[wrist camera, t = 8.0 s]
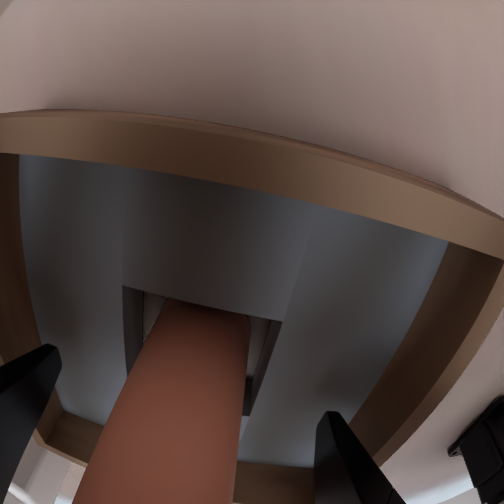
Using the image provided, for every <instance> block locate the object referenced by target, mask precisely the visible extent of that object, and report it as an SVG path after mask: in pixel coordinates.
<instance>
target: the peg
mask: <svg viewBox="0 0 504 504" xmlns="http://www.w3.org/2000/svg"><path fill="white" fill-rule="evenodd" d="M249 341H250V323H249V320H248V317H247V315H246V314H241V313H236V312H232V311H227V310H222V309H218V308H213V307H209V306H204V305H200V304H195V303H191V302H187V301H182V300H178V299H174V298H169V299H168V300H167V302H166V303H165V304H164V306H163V308H162V310H161V312H160V314H159V316H158V318H157V320H156V321H155V323H154V325H153V327H152V329H151V331H150V333H149V335H148V337H147V339H146V341H145V343H144V345H143V347H142V349H141V351H140V353H139V355H138V357H137V359H136V361H135V363H134V365H133V367H132V369H131V371H130V373H129V375H128V377H127V379H126V381H125V383H124V386H123V388H122V390H121V392H120V394H119V396H118V398H117V400H116V402H115V405H114V407H113V409H112V411H111V413H110V415H109V418H108V420H107V422H106V424H105V426H104V429H103V431H102V433H101V435H100V437H99V440H98V442H97V444H96V447H95V449H94V451H93V453H92V456H91V458H90V460H89V463H88V465H87V468H86V470H85V472H84V475H83V477H82V480H81V482H80V484H79V487H78V489H77V492H76V494H75V497H74V499H73V502H72V504H232V501H233V492H234V483H235V474H236V465H237V455H238V446H239V437H240V427H241V418H242V409H243V399H244V389H245V380H246V370H247V360H248V351H249Z"/></svg>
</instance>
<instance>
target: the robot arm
mask: <svg viewBox="0 0 504 504" xmlns="http://www.w3.org/2000/svg"><path fill="white" fill-rule="evenodd" d="M61 369H62V360H61V356H60V352H59V349H58V347H57V346H55V345H52V344H50V343H46V344H44V345H42V346H40V347H38V348H36V349H34V350H32V351H30V352H28V353H26V354H24V355H22V356H20V357H18V358H16V359H14V360H12V361H10V362H8V363H6V364H4V365H2V366H0V504H3V503H4V500H5V497H6V495H7V492H8V489H9V487H10V484H11V482H12V479H13V477H14V474H15V472H16V470H17V467H18V465H19V463H20V460H21V458H22V456H23V454H24V451H25V449H26V447H27V445H28V443H29V441H30V438H31V436H32V434H33V432H34V430H35V428H36V426H37V424H38V422H39V420H40V418H41V416H42V414H43V412H44V410H45V408H46V406H47V404H48V402H49V399H50V397H51V394H52V392H53V389H54V387H55V384H56V382H57V379H58V377H59V374H60V372H61ZM447 453H448V456H449V457H453V456H458V455H462V456H463V458H464V461H465V464H466V466H467V469H468V472H469V475H470V478H471V481H472V484H473V486H474V488H477V491H478V494H479V497H480V500H481V504H485V503H487V504H504V397H501V398H499V399H497V400H496V401H495V402H494V403H493V404H492V405H491V406H490V408H489V409H488V410H487V411H486V412H485V413H484V414H483V416H482V417H481V418H480V419H479V420H478V421H477V422H476V423H475V424H474V425H473V427H472V428H471V429H470V430H469V431H468V432H467V433H466V434H465V435H464V436H463V437H462V438H461V439H460V440H459V441H458V442H457V443H456V444H455V445H454V446H453V447H452V448H451V449H450V450H449V451H448V452H447ZM314 489H315V504H406V503H405V502H404V500H403V499H402V498H401V497H400V495H399V494H398V493H397V491H396V490H395V489H394V488H393V486H392V485H391V483H390V482H389V481H388V479H387V478H386V477H385V475H384V474H383V472H382V471H381V470H380V468H379V467H378V466H377V464H376V463H375V461H374V460H373V459H372V457H371V456H370V455H369V453H368V452H367V450H366V449H365V448H364V446H363V445H362V443H361V442H360V441H359V439H358V438H357V436H356V435H355V434H354V432H353V431H352V429H351V428H350V427H349V425H348V424H347V422H346V421H345V420H344V418H343V417H342V415H341V414H340V413H339V412H337V411H326V412H325V413H324V415H323V416H322V418H321V420H320V421H319V423H318V424H317V427H316V438H315V454H314Z"/></svg>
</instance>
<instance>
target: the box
mask: <svg viewBox="0 0 504 504" xmlns="http://www.w3.org/2000/svg"><path fill="white" fill-rule="evenodd" d="M143 291H145V292H149V293H153V294H157V295H161V296H166V297H170V298H174V299H178V300H182V301H187V302H191V303H195V304H200V305H204V306H209V307H213V308H218V309H222V310H227V311H232V312H236V313H241V314H246V315H251V316H256V317H261V318H266V319H272V321H271V324H270V327H269V331H268V334H267V337H266V340H265V343H264V347H263V350H262V353H261V356H260V359H259V363H258V366H257V369H256V372H255V375H254V378H253V381H252V382H251V381H245V389H244V399H243V409H242V418H241V427H240V437H239V446H238V455H237V465H236V474H235V483H234V492H233V501H232V504H315V489H314V454H315V438H316V427H317V424H318V423H319V421H320V420H321V418H322V416H323V415H324V413H325V412H326V411H337V412H339V413H340V414H341V415H342V417H343V418H344V420H345V421H346V422H347V424H348V425H349V427H350V428H351V429H352V431H353V432H354V434H355V435H356V436H357V438H358V439H359V441H360V442H361V443H362V445H363V446H364V448H365V449H366V450H367V452H368V453H369V455H370V456H371V457H372V459H373V460H374V461H375V463H376V464H377V466H378V467H380V466H381V465H382V464H383V463H384V462H386V461H387V460H388V459H389V458H390V457H391V456H392V455H393V454H394V453H395V452H396V451H397V450H398V449H399V448H400V447H401V446H402V445H403V444H404V443H405V442H406V441H407V440H408V439H409V437H410V436H411V435H412V434H413V433H414V432H415V431H416V430H417V429H418V428H419V427H420V425H421V424H422V423H423V422H424V421H425V420H426V419H427V418H428V416H429V415H430V414H431V413H432V412H433V410H434V409H435V408H436V407H437V406H438V404H439V403H440V402H441V401H442V399H443V398H444V397H445V396H446V394H447V393H448V392H449V390H450V389H451V388H452V387H453V385H454V384H455V383H456V381H457V380H458V378H459V377H460V376H461V374H462V373H463V371H464V370H465V369H466V367H467V366H468V364H469V363H470V361H471V360H472V358H473V357H474V355H475V354H476V352H477V351H478V349H479V348H480V346H481V344H482V343H483V341H484V340H485V338H486V336H487V335H488V333H489V331H490V330H491V328H492V326H493V325H494V323H495V321H496V319H497V317H498V316H499V314H500V312H501V310H502V308H503V306H504V218H503V217H501V216H499V215H497V214H496V213H494V212H492V211H490V210H488V209H487V208H485V207H483V206H481V205H479V204H477V203H476V202H474V201H472V200H470V199H468V198H466V197H464V196H462V195H460V194H458V193H456V192H454V191H452V190H450V189H447V188H445V187H442V186H440V185H437V184H435V183H432V182H430V181H427V180H425V179H422V178H419V177H417V176H414V175H411V174H408V173H405V172H403V171H400V170H397V169H394V168H391V167H388V166H385V165H382V164H379V163H376V162H373V161H370V160H367V159H363V158H360V157H357V156H354V155H350V154H347V153H343V152H340V151H336V150H333V149H329V148H326V147H322V146H318V145H314V144H310V143H307V142H303V141H299V140H294V139H290V138H286V137H282V136H277V135H273V134H268V133H263V132H259V131H254V130H249V129H244V128H238V127H233V126H228V125H222V124H216V123H210V122H204V121H197V120H190V119H183V118H175V117H167V116H159V115H150V114H139V113H128V112H115V111H98V110H70V109H41V110H28V111H18V112H8V113H0V366H2V365H4V364H6V363H8V362H10V361H12V360H14V359H16V358H18V357H20V356H22V355H24V354H26V353H28V352H30V351H32V350H34V349H36V348H38V347H40V346H42V345H44V344H46V343H50V344H52V345H55V346H57V347H58V349H59V352H60V356H61V360H62V369H61V372H60V374H59V377H58V379H57V382H56V384H55V387H54V389H53V392H52V394H51V397H50V399H49V402H48V404H47V406H46V408H45V410H44V412H43V414H42V416H41V418H40V420H39V422H38V424H37V426H36V428H35V430H34V432H33V434H32V437H33V438H34V440H35V441H36V443H37V444H38V445H39V446H41V447H43V448H45V449H47V450H49V451H51V452H53V453H55V454H57V455H59V456H61V457H63V458H65V459H67V460H70V461H72V462H74V463H76V464H79V465H81V466H83V467H86V468H87V465H88V463H89V460H90V458H91V456H92V453H93V451H94V449H95V447H96V444H97V442H98V440H99V437H100V435H101V433H102V431H103V429H104V426H105V424H106V422H107V420H108V418H109V415H110V413H111V411H112V409H113V407H114V405H115V402H116V400H117V398H118V396H119V394H120V392H121V390H122V388H123V386H124V383H125V381H126V379H127V377H128V375H129V373H130V371H131V369H132V367H133V365H134V363H135V361H136V359H137V357H138V355H139V353H140V351H141V349H142V347H143Z"/></svg>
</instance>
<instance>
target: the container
mask: <svg viewBox="0 0 504 504" xmlns="http://www.w3.org/2000/svg"><path fill="white" fill-rule="evenodd" d="M71 463H72V461H70V460H67V459H65V458H63V457H61V456H59V455H57V454H55V453H53V452H51V451H49V450H47V449H45V448H43V447H41V446H39V445H38V444H37V443H36V441H35V440H34V438H33V437H32V436H31V438H30V441H29V443H28V445H27V447H26V449H25V451H24V454H23V456H22V458H21V460H20V463H19V465H18V467H17V470H16V472H15V474H14V477H13V479H12V482H11V484H10V487H9V489H8V492H7V495H6V497H5V500H4V503H3V504H54V502H55V499H56V497H57V495H58V492H59V490H60V487H61V485H62V483H63V481H64V478H65V476H66V474H67V471H68V469H69V467H70V465H71Z"/></svg>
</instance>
